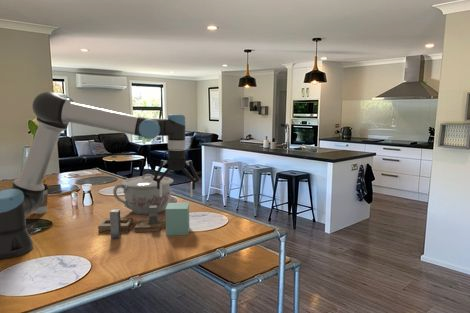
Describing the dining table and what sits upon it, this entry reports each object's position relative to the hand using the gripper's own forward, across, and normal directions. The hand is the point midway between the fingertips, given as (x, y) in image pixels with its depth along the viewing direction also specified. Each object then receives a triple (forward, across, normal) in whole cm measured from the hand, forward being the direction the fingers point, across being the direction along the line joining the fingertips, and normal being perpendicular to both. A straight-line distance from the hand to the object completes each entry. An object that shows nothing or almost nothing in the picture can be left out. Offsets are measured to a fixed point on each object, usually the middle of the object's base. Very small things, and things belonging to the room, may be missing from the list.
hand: (176, 196), depth 151 cm
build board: (+17, +28, -6) cm, 33 cm away
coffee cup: (+18, +75, -33) cm, 84 cm away
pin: (+17, +25, +6) cm, 31 cm away
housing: (+16, -1, 0) cm, 16 cm away
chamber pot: (+17, +18, -32) cm, 41 cm away
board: (+17, +13, -6) cm, 22 cm away
